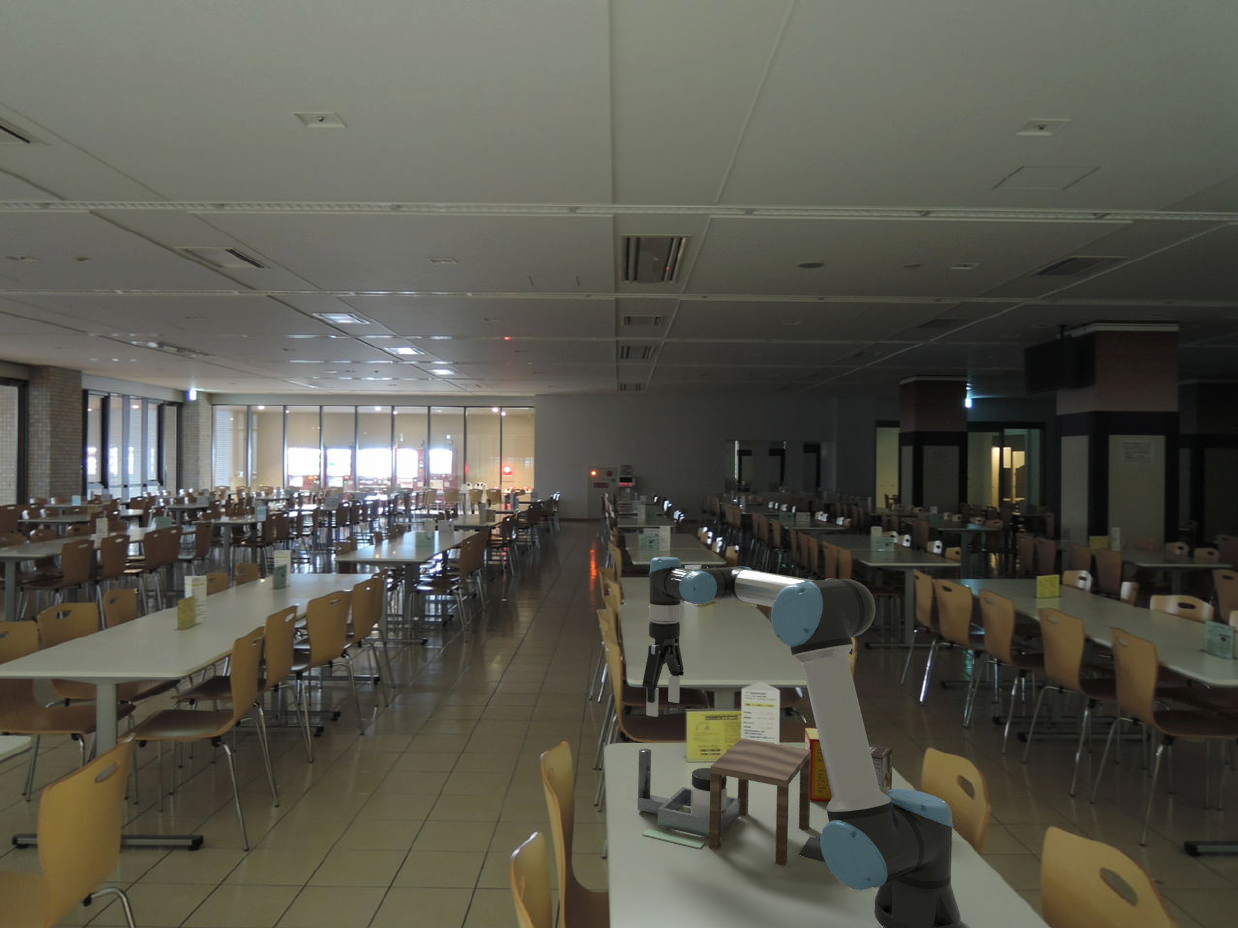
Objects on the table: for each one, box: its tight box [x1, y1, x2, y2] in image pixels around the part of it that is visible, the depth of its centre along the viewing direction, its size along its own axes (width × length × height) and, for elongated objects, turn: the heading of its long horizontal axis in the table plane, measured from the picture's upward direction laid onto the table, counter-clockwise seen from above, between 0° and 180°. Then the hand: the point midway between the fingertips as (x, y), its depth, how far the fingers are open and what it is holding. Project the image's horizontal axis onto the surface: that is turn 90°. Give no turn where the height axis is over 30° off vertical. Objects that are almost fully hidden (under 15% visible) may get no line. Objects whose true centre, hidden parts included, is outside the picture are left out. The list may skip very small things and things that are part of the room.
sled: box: [637, 748, 740, 839], centre depth 197 cm, size 15×24×14 cm, turn 64°
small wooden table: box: [708, 737, 811, 866], centre depth 188 cm, size 22×17×18 cm
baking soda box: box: [804, 727, 832, 803], centre depth 214 cm, size 10×6×16 cm
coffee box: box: [868, 743, 893, 795], centre depth 201 cm, size 9×6×16 cm
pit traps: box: [798, 836, 826, 863], centre depth 181 cm, size 10×14×1 cm
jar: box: [690, 767, 728, 818], centre depth 194 cm, size 9×8×12 cm
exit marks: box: [641, 828, 706, 850], centre depth 196 cm, size 25×14×1 cm, turn 154°
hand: (663, 708), depth 200 cm, fingers open, 13 cm apart
